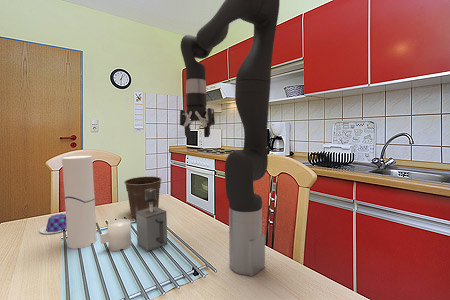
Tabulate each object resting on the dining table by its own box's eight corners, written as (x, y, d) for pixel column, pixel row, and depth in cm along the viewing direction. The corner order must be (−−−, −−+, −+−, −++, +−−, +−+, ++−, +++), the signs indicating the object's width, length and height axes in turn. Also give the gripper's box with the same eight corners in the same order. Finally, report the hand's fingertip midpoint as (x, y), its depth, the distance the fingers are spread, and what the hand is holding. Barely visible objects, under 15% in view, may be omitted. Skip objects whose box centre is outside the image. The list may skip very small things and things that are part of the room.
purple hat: (48, 238, 84) (47, 224, 84) (33, 231, 90) (32, 218, 90) (82, 226, 95) (81, 213, 94) (67, 220, 101) (66, 209, 100)
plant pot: (156, 220, 99) (155, 183, 98) (119, 221, 99) (117, 184, 98) (166, 208, 115) (165, 176, 114) (134, 208, 115) (133, 176, 114)
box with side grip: (172, 246, 77) (171, 213, 76) (152, 255, 71) (151, 219, 70) (156, 237, 84) (155, 206, 83) (137, 244, 78) (136, 211, 77)
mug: (135, 245, 78) (134, 222, 77) (105, 256, 71) (104, 231, 70) (126, 239, 82) (125, 217, 82) (98, 248, 76) (96, 225, 75)
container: (83, 249, 75) (77, 158, 72) (61, 247, 77) (55, 158, 74) (102, 237, 83) (97, 155, 81) (82, 235, 85) (77, 155, 83)
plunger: (163, 235, 78) (161, 189, 77) (148, 241, 75) (146, 192, 73) (155, 231, 82) (153, 187, 81) (141, 236, 78) (139, 190, 77)
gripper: (218, 93, 85) (218, 137, 86) (187, 96, 92) (188, 136, 93) (206, 90, 78) (207, 137, 80) (174, 93, 85) (175, 137, 86)
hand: (197, 137), depth 86 cm, fingers open, 8 cm apart
